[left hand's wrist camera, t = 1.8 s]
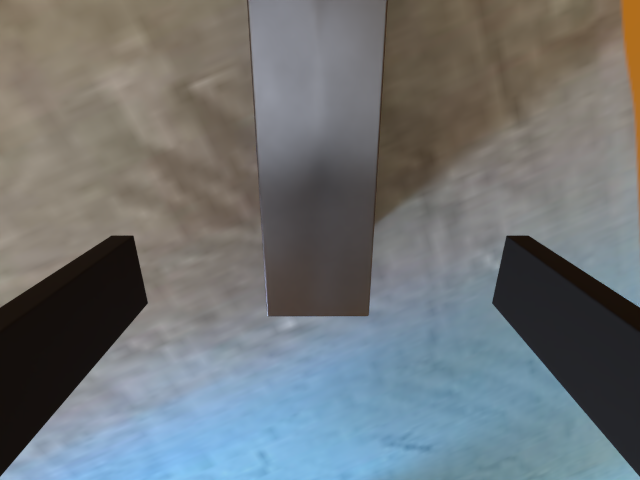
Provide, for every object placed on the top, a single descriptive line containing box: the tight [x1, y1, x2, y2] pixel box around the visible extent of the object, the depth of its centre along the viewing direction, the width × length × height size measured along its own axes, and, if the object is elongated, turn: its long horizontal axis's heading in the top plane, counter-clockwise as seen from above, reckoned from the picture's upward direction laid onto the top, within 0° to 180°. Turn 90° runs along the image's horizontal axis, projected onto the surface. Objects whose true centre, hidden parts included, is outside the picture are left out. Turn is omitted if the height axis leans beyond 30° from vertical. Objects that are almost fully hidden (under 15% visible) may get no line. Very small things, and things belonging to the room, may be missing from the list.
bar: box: [247, 0, 388, 316], centre depth 17 cm, size 22×5×9 cm, turn 0°
